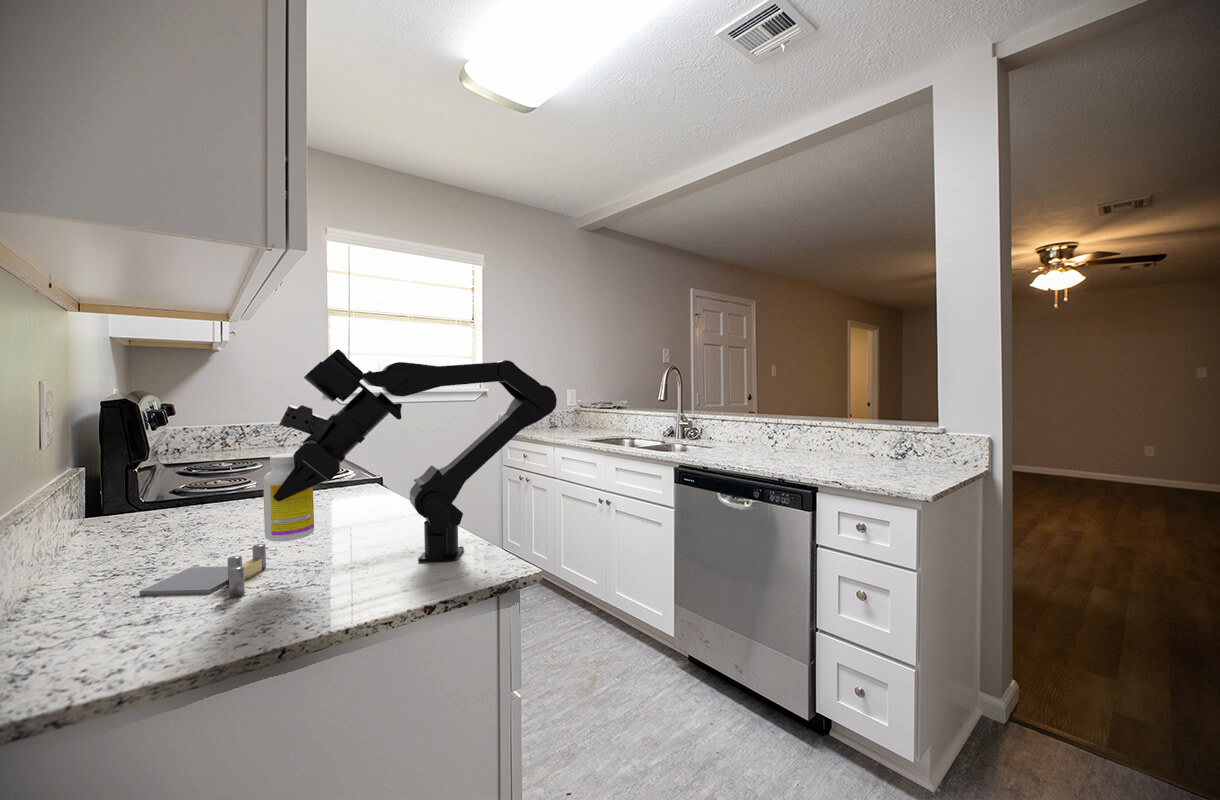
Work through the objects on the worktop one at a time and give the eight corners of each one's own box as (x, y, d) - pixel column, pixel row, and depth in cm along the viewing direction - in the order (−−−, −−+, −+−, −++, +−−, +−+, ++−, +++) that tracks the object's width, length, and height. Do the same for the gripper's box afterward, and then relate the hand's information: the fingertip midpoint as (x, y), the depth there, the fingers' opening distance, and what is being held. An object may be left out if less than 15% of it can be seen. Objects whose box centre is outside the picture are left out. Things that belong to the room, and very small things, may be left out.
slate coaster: (191, 570, 86) (191, 567, 86) (253, 569, 87) (253, 565, 87) (139, 595, 76) (139, 591, 76) (210, 593, 77) (210, 589, 77)
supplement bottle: (322, 534, 83) (320, 454, 83) (278, 545, 78) (275, 459, 77) (300, 527, 87) (298, 450, 86) (256, 538, 81) (253, 456, 81)
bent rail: (257, 567, 88) (256, 543, 88) (289, 566, 88) (289, 543, 88) (201, 598, 75) (200, 571, 75) (239, 597, 75) (238, 570, 75)
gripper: (317, 386, 91) (243, 454, 87) (311, 387, 75) (219, 470, 70) (367, 429, 95) (299, 496, 91) (372, 439, 79) (289, 521, 74)
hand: (278, 495), depth 81 cm, fingers closed on supplement bottle, 7 cm apart
